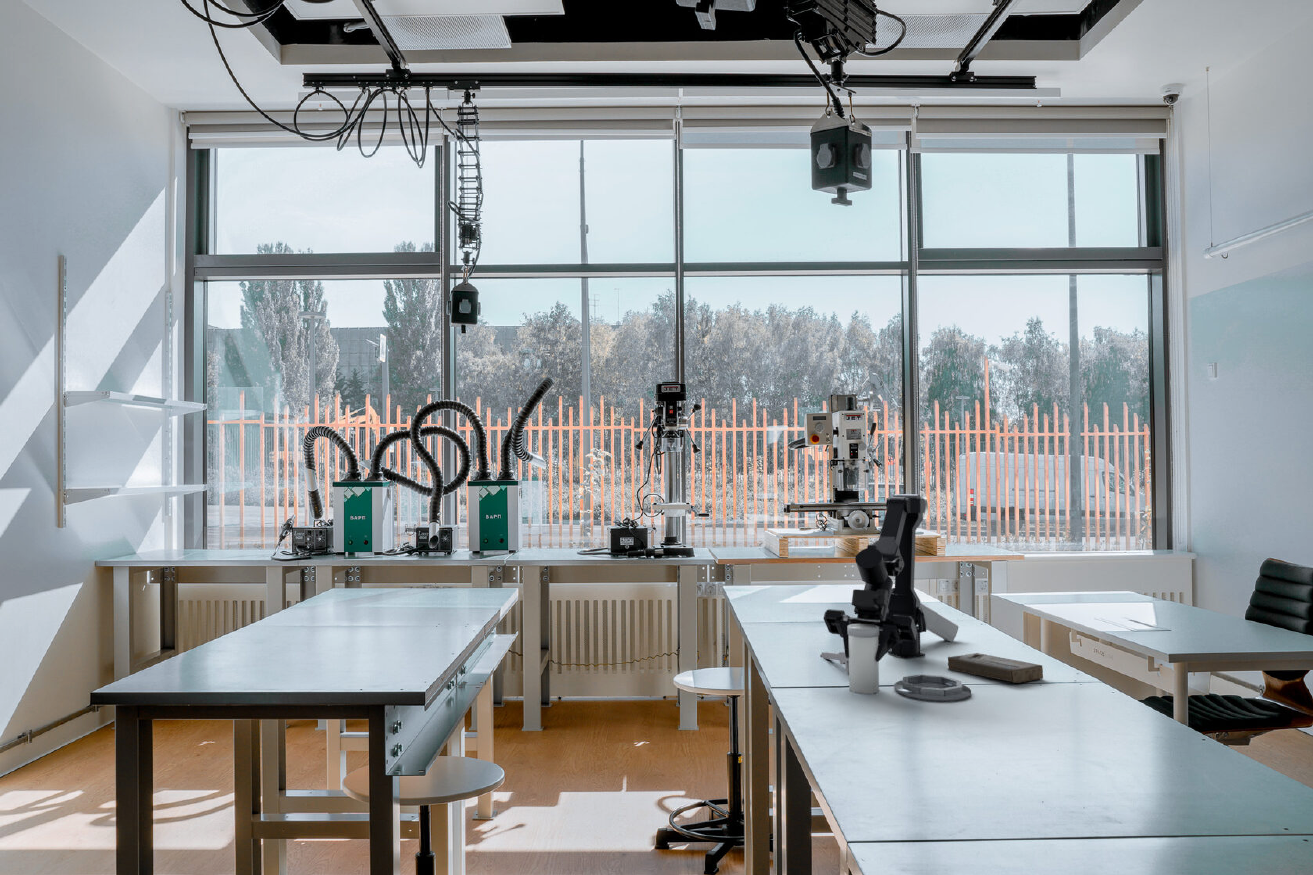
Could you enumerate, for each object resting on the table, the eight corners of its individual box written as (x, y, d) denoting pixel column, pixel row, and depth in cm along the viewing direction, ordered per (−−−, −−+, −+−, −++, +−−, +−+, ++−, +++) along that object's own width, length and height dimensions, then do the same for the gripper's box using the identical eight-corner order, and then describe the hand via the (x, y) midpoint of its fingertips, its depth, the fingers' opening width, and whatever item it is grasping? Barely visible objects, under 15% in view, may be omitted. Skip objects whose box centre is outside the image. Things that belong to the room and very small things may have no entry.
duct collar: (931, 679, 180) (931, 669, 180) (987, 695, 167) (987, 685, 167) (878, 688, 173) (878, 678, 173) (932, 706, 160) (932, 695, 160)
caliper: (855, 678, 183) (855, 649, 183) (850, 678, 183) (850, 649, 183) (824, 656, 203) (823, 630, 203) (819, 656, 203) (819, 631, 203)
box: (1012, 685, 174) (1012, 670, 174) (946, 670, 189) (946, 656, 189) (1045, 679, 179) (1044, 665, 179) (978, 665, 194) (977, 651, 194)
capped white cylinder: (865, 684, 176) (864, 622, 177) (886, 691, 171) (885, 627, 171) (841, 688, 174) (841, 625, 174) (862, 695, 168) (861, 630, 168)
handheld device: (865, 637, 214) (889, 585, 217) (930, 674, 219) (953, 623, 222) (873, 640, 211) (898, 587, 213) (939, 677, 216) (962, 625, 218)
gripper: (825, 572, 181) (808, 631, 171) (912, 577, 172) (899, 640, 162) (837, 603, 188) (821, 662, 178) (922, 609, 178) (910, 672, 168)
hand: (861, 658), depth 171 cm, fingers closed on capped white cylinder, 6 cm apart
